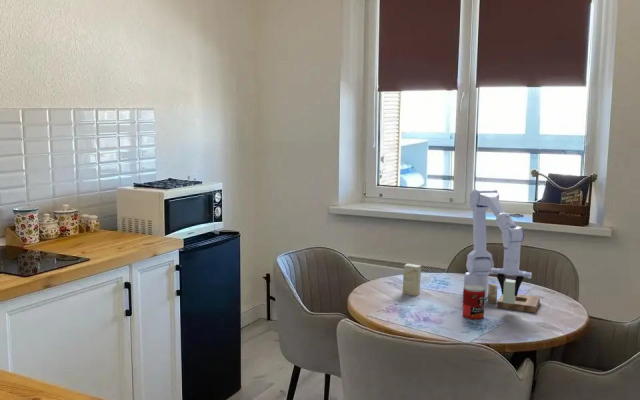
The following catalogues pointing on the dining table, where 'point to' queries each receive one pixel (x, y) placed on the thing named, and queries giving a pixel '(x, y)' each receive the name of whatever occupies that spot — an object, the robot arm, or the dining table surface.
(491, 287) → the birch dowel
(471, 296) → the canned food
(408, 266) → the skincare box
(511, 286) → the square peg
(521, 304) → the socket block
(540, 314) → the dining table surface
